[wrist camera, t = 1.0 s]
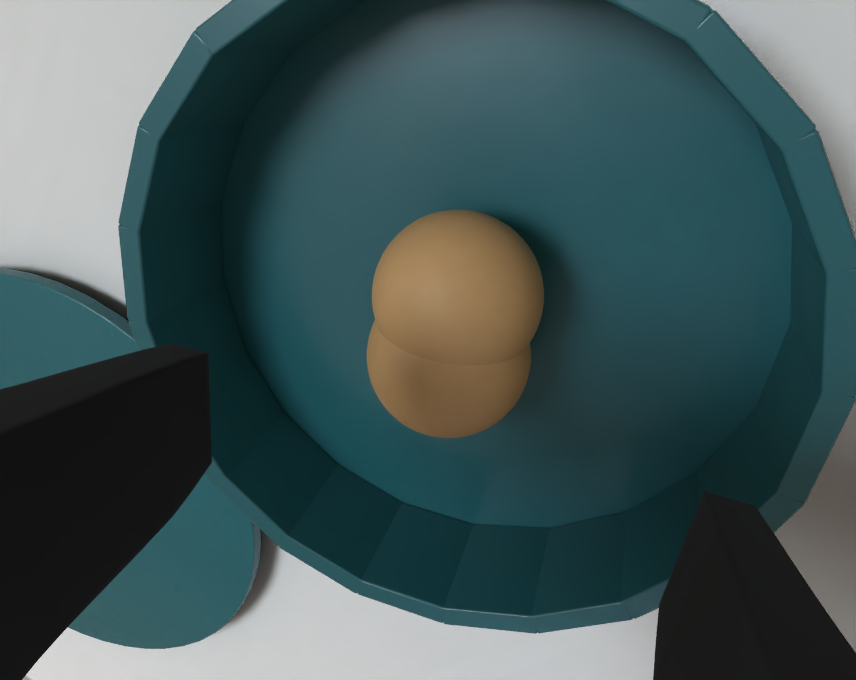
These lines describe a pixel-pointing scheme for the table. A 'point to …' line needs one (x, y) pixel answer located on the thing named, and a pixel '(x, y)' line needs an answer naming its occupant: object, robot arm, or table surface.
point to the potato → (453, 322)
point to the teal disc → (189, 527)
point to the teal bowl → (561, 273)
